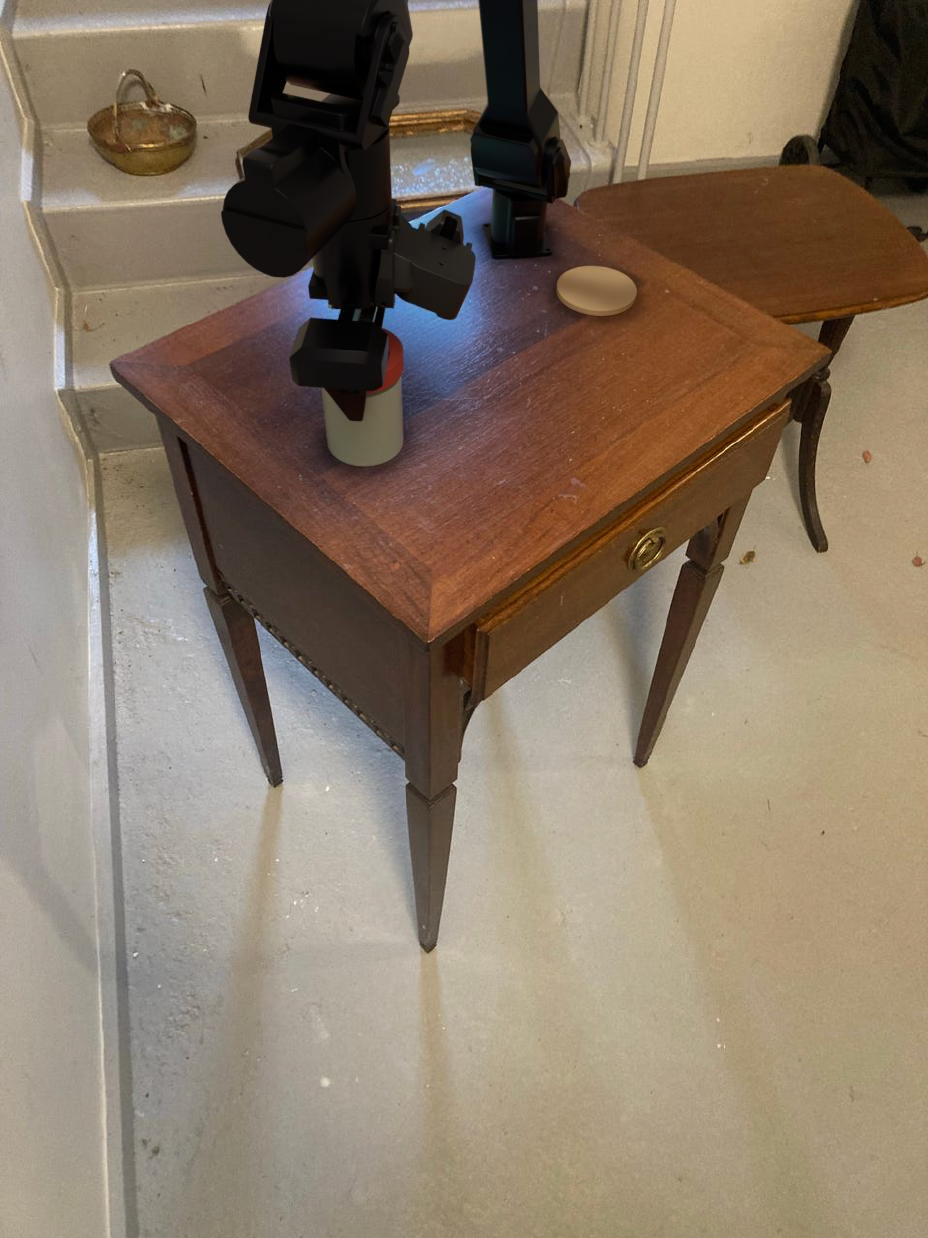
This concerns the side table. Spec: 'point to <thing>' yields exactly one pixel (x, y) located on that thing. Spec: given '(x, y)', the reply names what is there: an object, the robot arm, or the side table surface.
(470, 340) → the side table surface
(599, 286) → the coaster
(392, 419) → the jar
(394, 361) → the jar lid
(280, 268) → the robot arm
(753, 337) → the side table surface
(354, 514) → the side table surface
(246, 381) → the side table surface
